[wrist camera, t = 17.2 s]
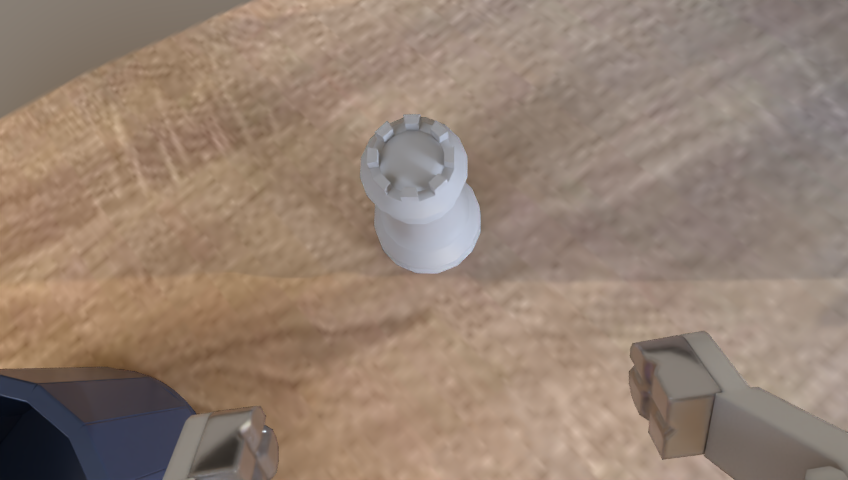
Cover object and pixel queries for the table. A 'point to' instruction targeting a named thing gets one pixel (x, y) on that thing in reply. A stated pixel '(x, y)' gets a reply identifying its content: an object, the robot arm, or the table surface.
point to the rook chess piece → (420, 194)
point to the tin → (87, 424)
